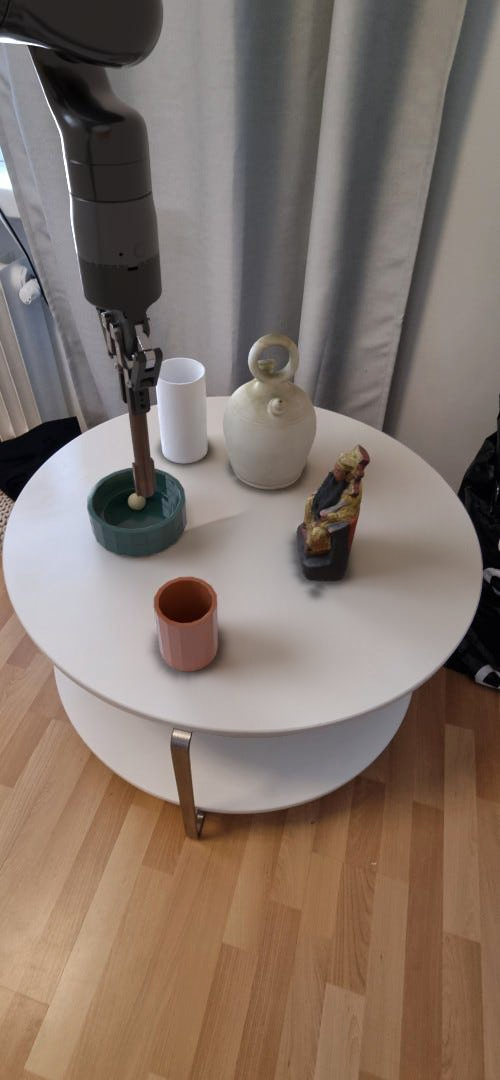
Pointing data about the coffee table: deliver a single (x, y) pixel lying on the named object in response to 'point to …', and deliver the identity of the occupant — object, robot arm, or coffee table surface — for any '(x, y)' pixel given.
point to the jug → (269, 421)
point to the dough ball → (136, 502)
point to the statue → (332, 518)
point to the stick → (141, 454)
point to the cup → (182, 410)
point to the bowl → (137, 514)
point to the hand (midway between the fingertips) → (136, 406)
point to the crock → (187, 623)
